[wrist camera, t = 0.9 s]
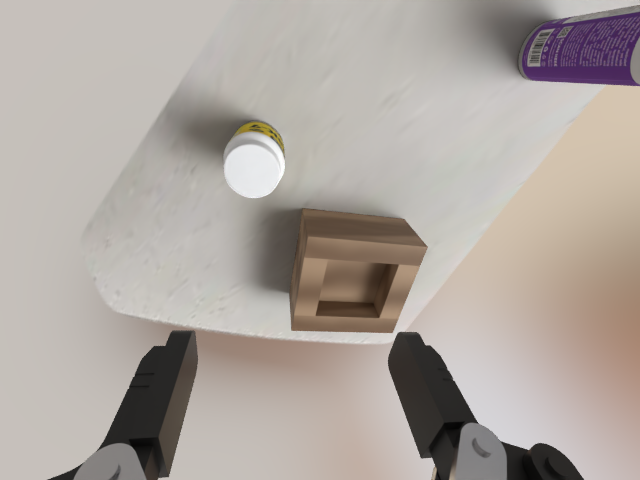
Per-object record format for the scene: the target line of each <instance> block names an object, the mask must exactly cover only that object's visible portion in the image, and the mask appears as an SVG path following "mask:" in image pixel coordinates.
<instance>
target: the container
mask: <svg viewBox="0 0 640 480" xmlns="http://www.w3.org/2000/svg"><path fill="white" fill-rule="evenodd" d="M518 66H519V70H520V73H521V74H522V76H523V77H524V78H526V79H528V80H532V81H549V82H569V83H588V84H608V85H628V86H629V85H630V86H640V5H637V6H631V7H626V8H620V9H614V10H609V11H603V12H597V13H591V14H586V15H580V16H574V17H569V18H563V19H557V20H552V21H547V22H544V23H542V24H540V25H539V26H537V27H536V28H535V29H534V30H533V31H532V32H531V33H530V34H529V35H528V37H527V38H526V39H525V41H524V43H523V45H522V47H521V50H520V53H519V59H518Z"/></svg>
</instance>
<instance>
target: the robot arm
mask: <svg viewBox="0 0 640 480" xmlns="http://www.w3.org/2000/svg"><path fill="white" fill-rule="evenodd" d="M197 364H198V355H197V345H196V336H195V331H172V332H171V334H170V336H169V338H168V341H167V343H166V346H154V347H153V348H152V349H151V350H150V351H149V352H148V353H147V354H146V355H145V356H144V357H143V358H142V360H141V362H140V364H139V366H138V369H137V371H136V373H135V377H133V379H132V381H131V384H130V386H129V389H128V390H127V392H126V394H125V397H124V399H123V401H122V403H121V405H120V408H119V410H118V412H117V414H116V416H115V418H114V421H113V423H112V425H111V427H110V430H109V431H108V434H107V436H106V438H105V440H104V442H103V443H102V445H101V446H100V447H99V449H98V450H97V451H96V452H95V453H94V454H93V455H91V456H90V457H89V458H88V459H87V460H86V461H85V462H84V463H82V464H81V465H80V466H78V467H76V468H75V469H73V470H71V471H69V472H67V473H64V474H61V475H59V476H56V477H53V478H51V479H48V480H158V478H162V477H169V474H170V470H171V466H172V462H173V459H174V455H175V451H176V447H177V444H178V440H179V436H180V432H181V428H182V425H183V421H184V417H185V413H186V410H187V405H188V402H189V398H190V394H191V391H192V387H193V383H194V379H195V375H196V370H197ZM388 366H389V371H390V374H391V376H392V379H393V382H394V385H395V388H396V390H397V393H398V396H399V399H400V401H401V404H402V407H403V409H404V412H405V415H406V418H407V421H408V423H409V426H410V429H411V432H412V434H413V437H414V440H415V442H416V446H417V448H418V451H419V454H420V457H421V458H431V457H432V458H433V461H434V464H435V467H434V469H433V474H432V479H431V480H584V479H583V478H582V476H581V475H580V473H579V472H578V471H577V469H576V468H575V466H574V465H573V464H572V462H570V460H569V459H568V458H567V457H566V456H565V455H564V454H562V453H561V452H560V451H558V450H557V449H556V448H554V447H552V446H550V445H547V444H542V443H538V444H535V445H534V446H533V447H532V448H531V449H530V450H527V449H523V448H520V447H517V446H514V445H510V444H507V443H504V442H501V441H500V440H499V439H498V438H497V437H496V435H495V434H494V433H493V432H492V431H490V430H489V429H488V428H486V427H484V426H482V425H480V424H479V423H478V422H477V420H476V419H475V418H474V415H473V413H472V412H471V410H470V408H469V406H468V404H467V403H466V401H465V399H464V397H463V395H462V394H461V392H460V390H459V388H458V386H457V385H456V383H455V381H453V378H452V376H451V374H450V372H449V371H448V370H447V367H446V365H445V363H444V361H443V360H442V358H441V356H440V355H439V354H438V353H437V352H436V351H435V350H434V349H433V348H432V347H431V346H425V344H424V342H423V340H422V338H421V336H420V335H419V334H418V333H417V332H399V333H398V334H397V336H396V338H395V341H394V344H393V346H392V349H391V351H390V354H389V357H388Z"/></svg>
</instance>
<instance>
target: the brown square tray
mask: <svg viewBox="0 0 640 480" xmlns="http://www.w3.org/2000/svg"><path fill="white" fill-rule="evenodd" d="M427 248H428V247H427V246H426V244H425V243H424V242H423V241H422V240H421V238H420V237H419V236H418V235H417V234H416V233H415V231H414V230H413V229H412V228H411V227H410V226H409V224H408V223H407V222H406V221H405V220H404V219H398V218H389V217H380V216H370V215H361V214H352V213H343V212H333V211H324V210H315V209H305V208H303V209H302V216H301V222H300V229H299V235H298V241H297V248H296V254H295V260H294V267H293V273H292V280H291V286H290V292H289V296H290V313H291V330H292V331H328V332H371V333H393V330H394V328H395V326H396V323H397V321H398V318H399V316H400V313H401V311H402V309H403V306H404V304H405V301H406V299H407V296H408V294H409V292H410V289H411V287H412V284H413V282H414V279H415V277H416V274H417V272H418V270H419V267H420V265H421V262H422V260H423V257H424V255H425V253H426V250H427Z"/></svg>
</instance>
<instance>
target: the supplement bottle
mask: <svg viewBox="0 0 640 480" xmlns="http://www.w3.org/2000/svg"><path fill="white" fill-rule="evenodd" d="M223 164H224V176H225V179H226V181H227V183H228V185H229V186H230V187H231V188H232V189H233V190H234V191H235V192H236V193H238V194H240V195H242V196H244V197H248V198H260V197H264V196H266V195H268V194H269V193H271V192H272V191H273V190H274V189H275V188H276V186H277V184H278V182H279V181H280V179H281V178H282V176H283V173H284V170H285V156H284V144H283V140H282V138H281V136H280V134H279V133H278V131H277V130H276V129H275V128H274V127H272V126H271V125H269V124H267V123H265V122H261V121H251V122H248V123H246V124H244V125H242V126H241V127H240V128H239V129H238V130H237V131H236V133H235V134H234V136H233V137H232V138H231V140H230V141H229V143H228V144H227V146H226V148H225V151H224V155H223Z"/></svg>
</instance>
